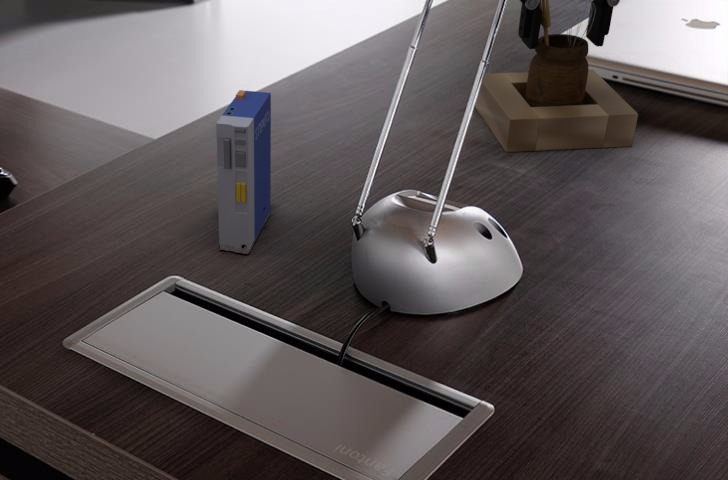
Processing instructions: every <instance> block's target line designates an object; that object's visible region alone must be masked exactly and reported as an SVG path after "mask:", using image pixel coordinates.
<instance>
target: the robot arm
mask: <svg viewBox="0 0 728 480" xmlns="http://www.w3.org/2000/svg"><path fill="white" fill-rule="evenodd" d="M519 2H520V3H521V8H520V14H519V23H518V31H517V33H518V37H519V38H520V39H521V42H522V43H524V45H525V46H526V47H527V48H528V49H529V50H535V48H537V46H538V39H539V38H540V32H541V26H542V25H541V19H542V10H541V9H540V8H539V2H540V0H519ZM592 2H593V5H592ZM620 2H621V0H591V2H590V3H591V4H590V6H591V5H592V11H593V13H592V12H591V7H589V15H588V20H587V25H588V24H589V26H587V25H586V28H587V27H588V28H587V30H586V32H585V36H586V37H585V38H586V39H587V40H588V41H590V42H591V43H592V45H594V46H595V47H597V48H598V47H603V46H604V43H605V37H606V36H608V35H609V33H610V28H611V24H612V18H613V11H614V7H617V6H618V5H619V3H620ZM594 5H595V7H594ZM595 9H596V12H595ZM590 15H592V16H590ZM594 15H595V17H594ZM589 18H591V20H589ZM593 18H594V20H593ZM588 22H590V23H588ZM592 22H593V23H592ZM591 25H592V26H591ZM590 28H591V29H590ZM589 30H590V31H589ZM588 31H589V32H588ZM587 33H588V34H587Z"/></svg>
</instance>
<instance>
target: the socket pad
mask: <svg viewBox="0 0 728 480" xmlns="http://www.w3.org/2000/svg"><path fill="white" fill-rule="evenodd" d="M528 73H529V71H523V72H504V73H503V72H498V73H496V72H495V73H493V72H492V73H484V74H485V77H484V80H483V83H482V86H481V89H480V93H479V96H478V99H477V103H476V107H474V108H475V111H477V113H478V114H479V115H480V117H481V118H482V120H483V121H484V123H485V124H486V126H487V127H488V129H489V130H490V131H491V133H492V134H493V136H494V137H495V138H496V141H498V143H499V144H500V146H501V147H502V148H503V150H504V151H505V153H515V152H516V153H517V152H536V151H559V150H581V149H583V150H585V149H602V148H629V147H632V146H633V142H634V137H635V133H636V127H637V123H638V117H639V113H638V112H637V111H636V110H635V109H634V108H633V107H632V106H631V105H630V104H629V103H628V102H626V100H625V99H624V98H623V97H622V96H621V95H620V94H618V93H617V91H615V89H614V88H612V86H610V85H609V83H607V82H606V81H605V79H603V78H602V77H601V76H600V75H599V74H598V73H597V72H596V71H595V70H594V69H593V68H592V69H588V77H587V84H586V90H585V95H584V100H583V104H582V105H572V106H549V107H530V106H529V104H528V103H527V102H526V101H525V96H526V87H527V80H528Z"/></svg>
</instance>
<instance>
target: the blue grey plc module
mask: <svg viewBox="0 0 728 480" xmlns="http://www.w3.org/2000/svg"><path fill="white" fill-rule="evenodd" d="M271 94H272V92H267V91H265V92H264V91H254V90H242V89H241V90H238V92H237V93H236V94H235V97H234V98H233V100H232V101H231V102H230V103H229V105H228V106H227V107H226V109H225V111H223V113H222V115H221V116H220V117H219V119H218V120H217V121H216V123H215V132H216V135H215V136H216V137H215V138H216V167H217V168H216V171H217V174H216V175H217V202H218V203H217V208H218V209H217V212H218V213H217V214H218V244H222V245H229V246H234V247H235V248H241V249H243V248H244V247H245V246H246V250H249V249H250V247H251V245H252V243H253V241H254V240H255V238H256V236H257V234H258V233H259V231H260V229H261V227H262V225H263V224H264V222H265V220H266V218H267V216H268V214H269V213H270V214H271V194H272V193H271V192H272V191H271V186H272V185H271V182H272V181H271V179H272V177H271V176H272V175H271V172H272V170H271V166H272V158H271V157H272V156H271V153H272V152H271V151H272V150H271V149H272V148H271V147H272V142H271V141H272V139H271V138H272V135H271V134H272V133H271V132H272V126H271V125H272V95H271Z"/></svg>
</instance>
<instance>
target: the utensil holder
mask: <svg viewBox="0 0 728 480" xmlns="http://www.w3.org/2000/svg"><path fill="white" fill-rule="evenodd" d="M582 2H585V4H584V6H583V9H582V12H581V15H580V19H579V22H578V26H577V29H576V31H575V35H574V34H571V31H572V29H573V26H572V25H573V24H574V23H573V22H574V21H573V20H574V19H575V16H576V13H577V9H578V7H579V5H580V4H581V3H582ZM588 2H589V3H590V8H591V12H592V13H593V11H592V5H593V2H592V0H578V1H577V4H574V5H573V7H572V10H571V11H570V15H569V18H568V21H567V24H569V23H570V24H569V27H570V30H568V33H551V34H549V28H550V27H551V26H552V21H551V12H550V4H549V0H540V2H539V8H540V9H541V10H542V19H541V25H540V26H542V28H543V35H542V36H539V39H538V46H537V48H535V49H534V52H535V54H534V56H532V58H531V60H530V63H529V67H528V72H529V73H528V80H527V87H526V96H525V101H526V102H527V103H528V104H529V106H530V107H549V106H572V105H582V104H583V100H584V95H585V90H586V84H587V77H588V70H589V62H588V59H587V56H588V54H589V42H588V40H586V39H585V38H587V37H586V32H587V28H588V27H587V26H589V24H588V23H590V22H588V21H587V25H586V27H585V30H584V33H583V34H582V36H578V34H579V30H580V28H581V25H582V22H583V18H584V16H585V12H586V8H587V6H588ZM591 2H592V5H591ZM575 6H576V7H575ZM574 7H575V9H574ZM594 7H595V5H594ZM573 9H574V12H573ZM572 12H573V14H572ZM595 12H596V9H595ZM571 15H572V18H571ZM590 16H592V15H590ZM594 17H595V15H594ZM570 19H571V21H570ZM588 20H591V18H589V17H588ZM593 20H594V18H593ZM569 21H570V22H569ZM592 23H593V22H592ZM591 26H592V25H591ZM590 29H591V28H590ZM589 31H590V30H589ZM589 31H588V32H589ZM587 34H588V33H587ZM583 36H584V37H583Z"/></svg>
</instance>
